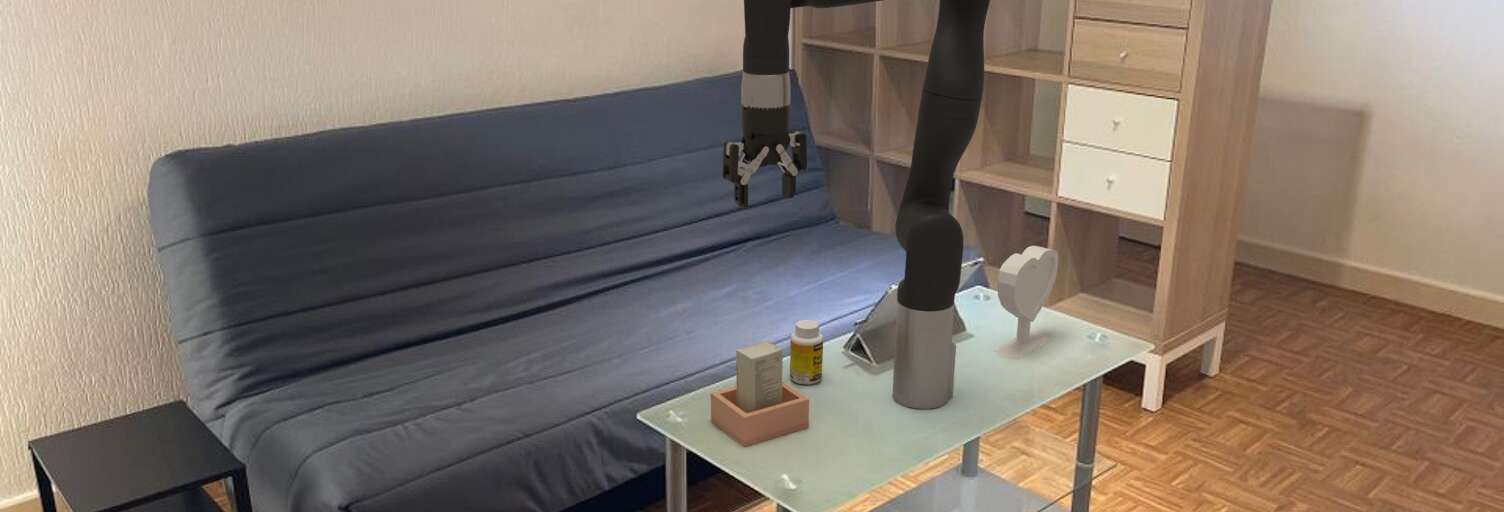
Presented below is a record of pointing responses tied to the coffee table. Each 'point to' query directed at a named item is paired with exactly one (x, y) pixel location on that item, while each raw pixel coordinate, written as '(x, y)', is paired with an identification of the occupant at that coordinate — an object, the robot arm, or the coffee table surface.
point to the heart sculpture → (1026, 294)
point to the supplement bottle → (806, 353)
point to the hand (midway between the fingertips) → (765, 201)
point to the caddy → (759, 416)
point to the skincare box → (759, 376)
